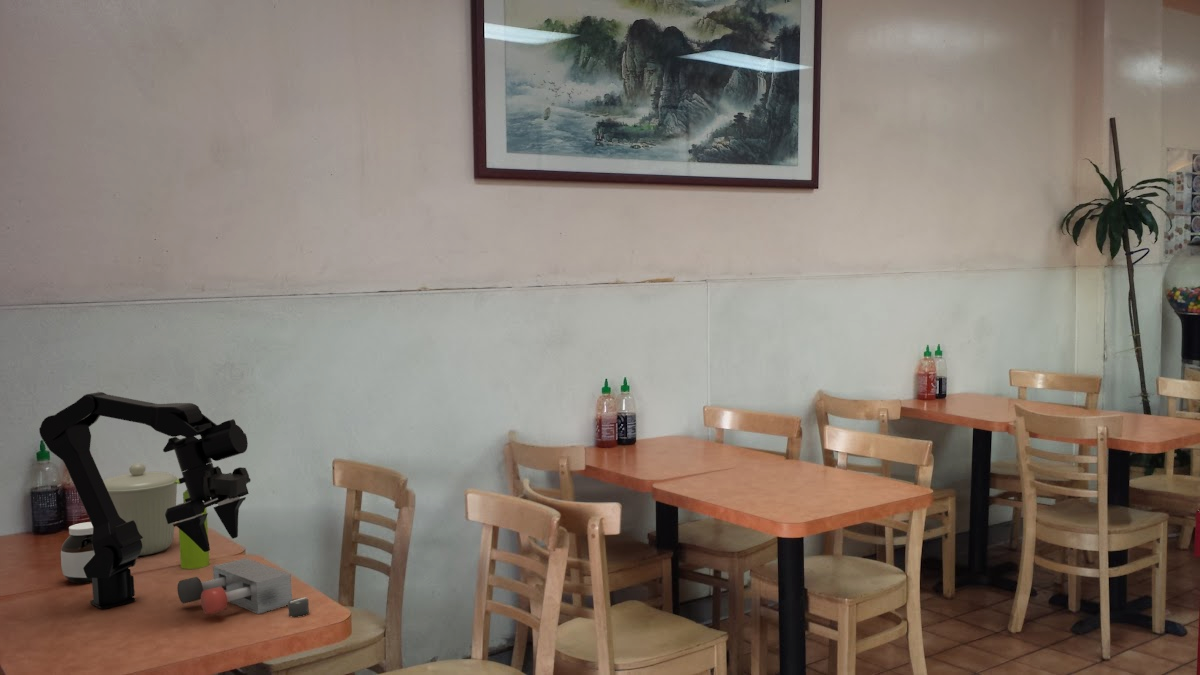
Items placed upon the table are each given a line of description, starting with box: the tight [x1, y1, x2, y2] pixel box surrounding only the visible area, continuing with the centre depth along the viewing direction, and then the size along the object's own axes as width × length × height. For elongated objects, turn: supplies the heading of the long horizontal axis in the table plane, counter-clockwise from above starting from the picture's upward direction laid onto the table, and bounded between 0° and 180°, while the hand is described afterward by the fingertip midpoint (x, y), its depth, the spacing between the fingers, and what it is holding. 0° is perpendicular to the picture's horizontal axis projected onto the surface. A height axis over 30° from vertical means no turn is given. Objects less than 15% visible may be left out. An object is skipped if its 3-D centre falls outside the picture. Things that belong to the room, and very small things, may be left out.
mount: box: [212, 557, 293, 615], centre depth 195 cm, size 7×18×6 cm, turn 46°
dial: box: [287, 596, 310, 618], centre depth 186 cm, size 4×4×3 cm
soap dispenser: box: [174, 479, 210, 570], centre depth 221 cm, size 6×7×20 cm
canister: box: [103, 462, 181, 557], centre depth 235 cm, size 18×18×21 cm
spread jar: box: [60, 521, 95, 584], centre depth 216 cm, size 12×11×12 cm
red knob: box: [200, 586, 251, 615], centre depth 188 cm, size 12×4×4 cm, turn 136°
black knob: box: [176, 576, 226, 604], centre depth 195 cm, size 12×4×4 cm, turn 136°
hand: (221, 544), depth 192 cm, fingers open, 9 cm apart
